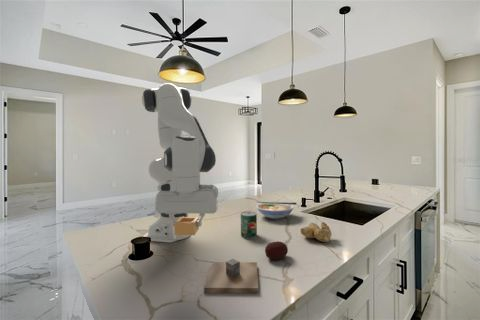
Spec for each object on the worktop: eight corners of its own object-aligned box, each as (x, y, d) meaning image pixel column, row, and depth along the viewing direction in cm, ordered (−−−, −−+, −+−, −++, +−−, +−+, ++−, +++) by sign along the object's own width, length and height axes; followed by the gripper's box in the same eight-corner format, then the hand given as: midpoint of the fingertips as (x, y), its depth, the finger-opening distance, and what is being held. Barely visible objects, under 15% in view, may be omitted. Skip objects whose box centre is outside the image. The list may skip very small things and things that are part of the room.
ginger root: (321, 246, 99) (318, 225, 101) (293, 243, 113) (290, 225, 114) (344, 239, 108) (341, 220, 110) (316, 237, 121) (313, 220, 123)
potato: (260, 257, 93) (260, 242, 92) (280, 251, 98) (280, 236, 98) (272, 265, 86) (272, 248, 86) (293, 258, 92) (293, 242, 91)
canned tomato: (255, 239, 112) (255, 216, 111) (239, 238, 113) (239, 215, 113) (257, 233, 120) (257, 211, 119) (242, 232, 121) (242, 211, 121)
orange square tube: (174, 235, 76) (174, 222, 76) (180, 228, 82) (180, 216, 82) (194, 235, 76) (194, 222, 75) (198, 228, 82) (198, 217, 82)
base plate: (204, 292, 70) (203, 274, 70) (212, 266, 86) (212, 251, 86) (258, 293, 69) (258, 274, 69) (256, 266, 85) (256, 251, 85)
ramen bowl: (250, 221, 139) (250, 207, 139) (259, 211, 161) (259, 199, 161) (294, 224, 132) (294, 210, 132) (296, 214, 154) (296, 201, 154)
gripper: (219, 183, 81) (219, 223, 82) (160, 183, 82) (160, 222, 82) (216, 186, 75) (216, 229, 75) (152, 186, 75) (153, 228, 76)
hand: (187, 225), depth 79 cm, fingers closed on orange square tube, 6 cm apart
